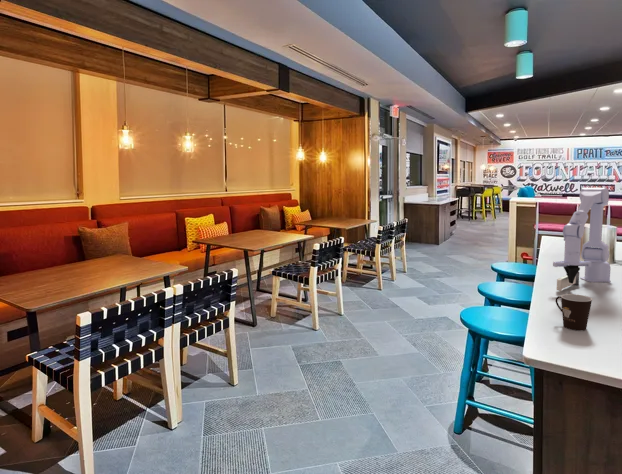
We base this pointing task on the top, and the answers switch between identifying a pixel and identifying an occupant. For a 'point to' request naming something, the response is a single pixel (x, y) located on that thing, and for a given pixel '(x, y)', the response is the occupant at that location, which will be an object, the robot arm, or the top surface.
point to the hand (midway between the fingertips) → (570, 282)
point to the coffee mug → (575, 310)
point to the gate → (564, 282)
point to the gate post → (577, 279)
